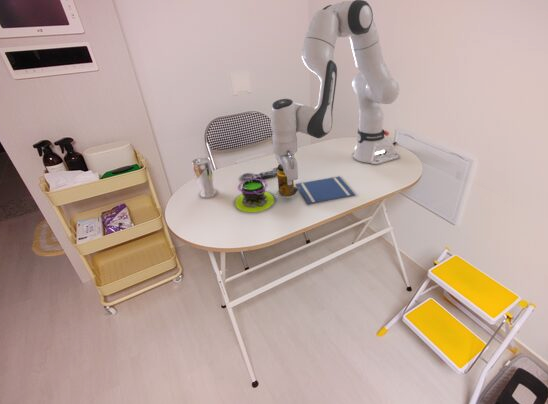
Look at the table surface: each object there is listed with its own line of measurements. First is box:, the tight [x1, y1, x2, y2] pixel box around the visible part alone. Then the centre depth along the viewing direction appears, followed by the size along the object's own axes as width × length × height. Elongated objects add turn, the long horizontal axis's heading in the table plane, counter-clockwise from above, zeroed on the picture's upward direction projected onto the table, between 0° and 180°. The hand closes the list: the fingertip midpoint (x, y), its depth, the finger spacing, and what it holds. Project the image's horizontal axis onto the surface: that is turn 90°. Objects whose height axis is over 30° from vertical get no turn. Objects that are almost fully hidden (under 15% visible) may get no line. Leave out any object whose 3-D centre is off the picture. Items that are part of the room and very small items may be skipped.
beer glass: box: [191, 156, 217, 199], centre depth 119 cm, size 7×7×15 cm
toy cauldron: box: [235, 173, 275, 213], centre depth 116 cm, size 15×15×11 cm
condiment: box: [274, 163, 300, 199], centre depth 118 cm, size 7×8×12 cm
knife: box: [240, 166, 278, 181], centre depth 139 cm, size 28×2×10 cm
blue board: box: [295, 176, 356, 205], centre depth 126 cm, size 20×16×1 cm
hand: (287, 179), depth 117 cm, fingers closed on condiment, 6 cm apart
